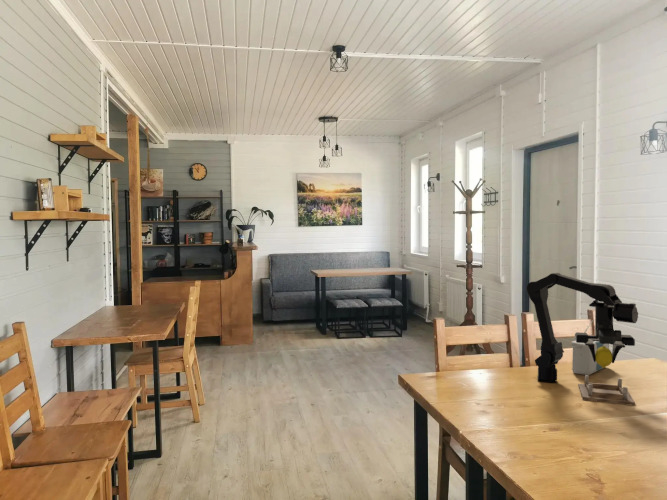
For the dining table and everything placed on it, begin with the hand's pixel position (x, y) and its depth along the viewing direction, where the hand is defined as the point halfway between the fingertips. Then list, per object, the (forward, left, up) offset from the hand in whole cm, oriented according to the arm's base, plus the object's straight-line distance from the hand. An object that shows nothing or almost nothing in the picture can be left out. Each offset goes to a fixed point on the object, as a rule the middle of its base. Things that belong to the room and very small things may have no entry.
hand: (603, 362), depth 185 cm
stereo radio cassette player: (-1, +31, -12) cm, 33 cm away
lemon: (0, 0, -2) cm, 2 cm away
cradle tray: (0, -2, -11) cm, 12 cm away
